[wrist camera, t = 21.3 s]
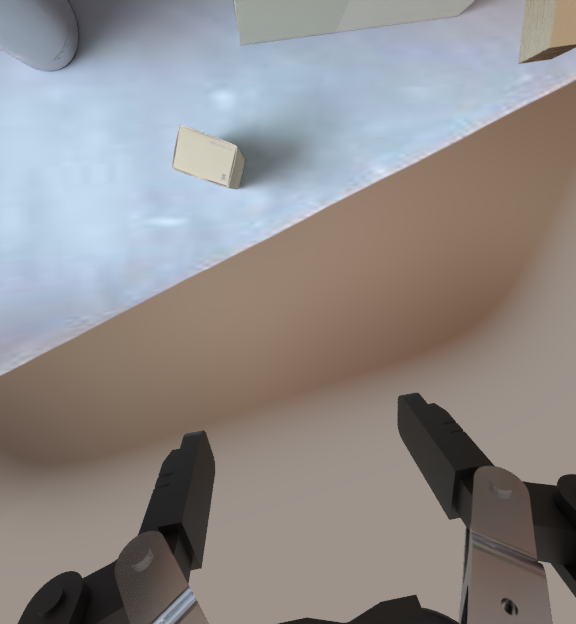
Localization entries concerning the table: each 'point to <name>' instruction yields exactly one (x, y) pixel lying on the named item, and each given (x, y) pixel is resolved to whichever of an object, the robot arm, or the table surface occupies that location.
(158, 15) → the table surface
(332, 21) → the stepped stand
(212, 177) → the skincare box
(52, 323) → the table surface
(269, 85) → the table surface
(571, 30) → the mallet
